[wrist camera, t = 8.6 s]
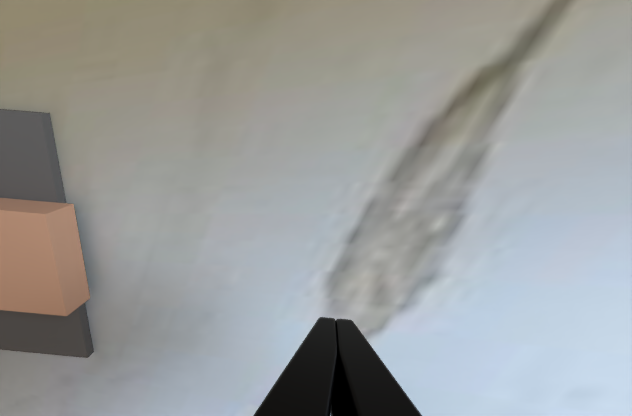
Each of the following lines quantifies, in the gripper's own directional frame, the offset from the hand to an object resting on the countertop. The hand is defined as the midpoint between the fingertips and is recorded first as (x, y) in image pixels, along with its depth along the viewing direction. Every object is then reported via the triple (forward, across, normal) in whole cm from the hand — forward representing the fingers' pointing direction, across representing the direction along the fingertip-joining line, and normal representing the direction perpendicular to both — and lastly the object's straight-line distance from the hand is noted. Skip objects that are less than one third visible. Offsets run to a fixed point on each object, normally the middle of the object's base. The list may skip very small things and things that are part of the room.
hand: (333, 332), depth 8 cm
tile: (+10, +16, +5) cm, 20 cm away
